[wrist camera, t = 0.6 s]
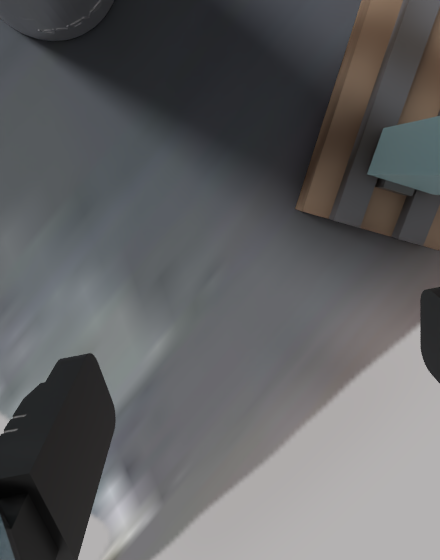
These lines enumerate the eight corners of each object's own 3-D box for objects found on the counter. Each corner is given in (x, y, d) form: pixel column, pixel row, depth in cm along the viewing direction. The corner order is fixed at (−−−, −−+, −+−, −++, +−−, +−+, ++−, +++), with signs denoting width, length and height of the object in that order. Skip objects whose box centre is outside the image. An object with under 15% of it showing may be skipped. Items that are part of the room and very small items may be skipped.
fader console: (423, 245, 32) (447, 253, 29) (295, 208, 30) (306, 212, 28) (549, -67, 27) (593, -96, 24) (404, -132, 25) (432, -170, 23)
